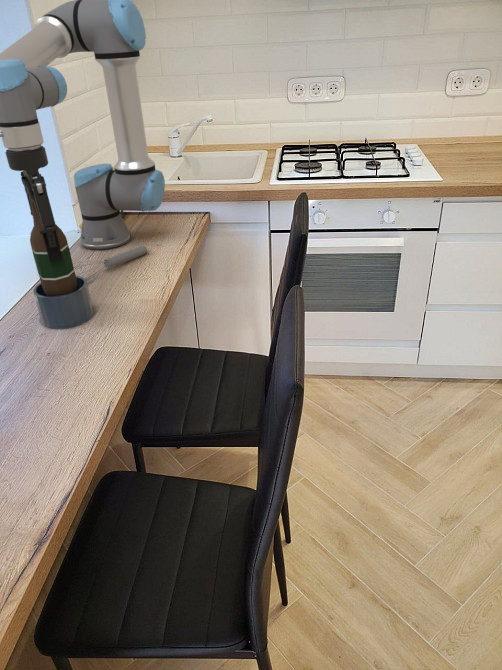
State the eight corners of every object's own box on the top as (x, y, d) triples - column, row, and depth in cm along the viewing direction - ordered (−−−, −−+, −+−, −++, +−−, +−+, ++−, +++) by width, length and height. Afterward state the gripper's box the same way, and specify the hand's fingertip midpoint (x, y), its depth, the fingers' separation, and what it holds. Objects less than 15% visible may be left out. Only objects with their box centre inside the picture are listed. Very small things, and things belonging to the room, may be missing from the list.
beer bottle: (59, 301, 117) (31, 194, 104) (36, 294, 120) (6, 189, 108) (85, 287, 122) (62, 184, 110) (63, 281, 126) (37, 180, 114)
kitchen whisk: (157, 252, 157) (154, 232, 154) (66, 298, 133) (60, 276, 130) (142, 249, 160) (139, 229, 157) (51, 293, 136) (45, 271, 133)
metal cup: (59, 303, 131) (51, 273, 127) (102, 306, 128) (95, 276, 124) (31, 326, 121) (22, 295, 117) (77, 330, 118) (69, 299, 114)
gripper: (-3, 142, 111) (26, 244, 123) (12, 158, 96) (43, 273, 107) (34, 137, 114) (58, 237, 126) (54, 152, 99) (80, 265, 110)
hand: (51, 254), depth 117 cm, fingers closed on beer bottle, 7 cm apart
